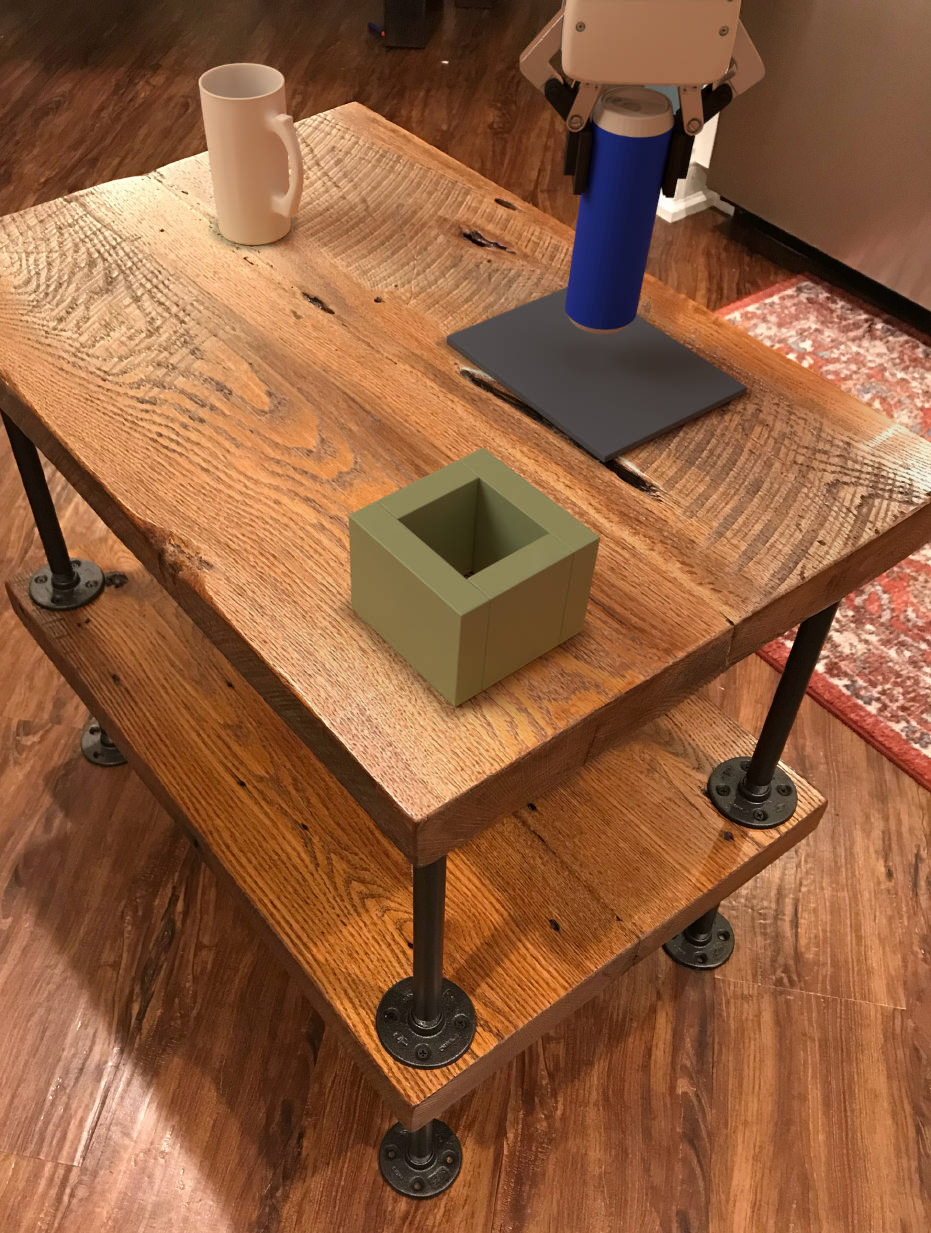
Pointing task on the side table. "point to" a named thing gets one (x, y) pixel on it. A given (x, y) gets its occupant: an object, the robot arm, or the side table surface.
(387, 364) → the side table surface
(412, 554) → the can holder
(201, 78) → the mug
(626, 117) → the beverage can
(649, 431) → the mat
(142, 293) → the side table surface
